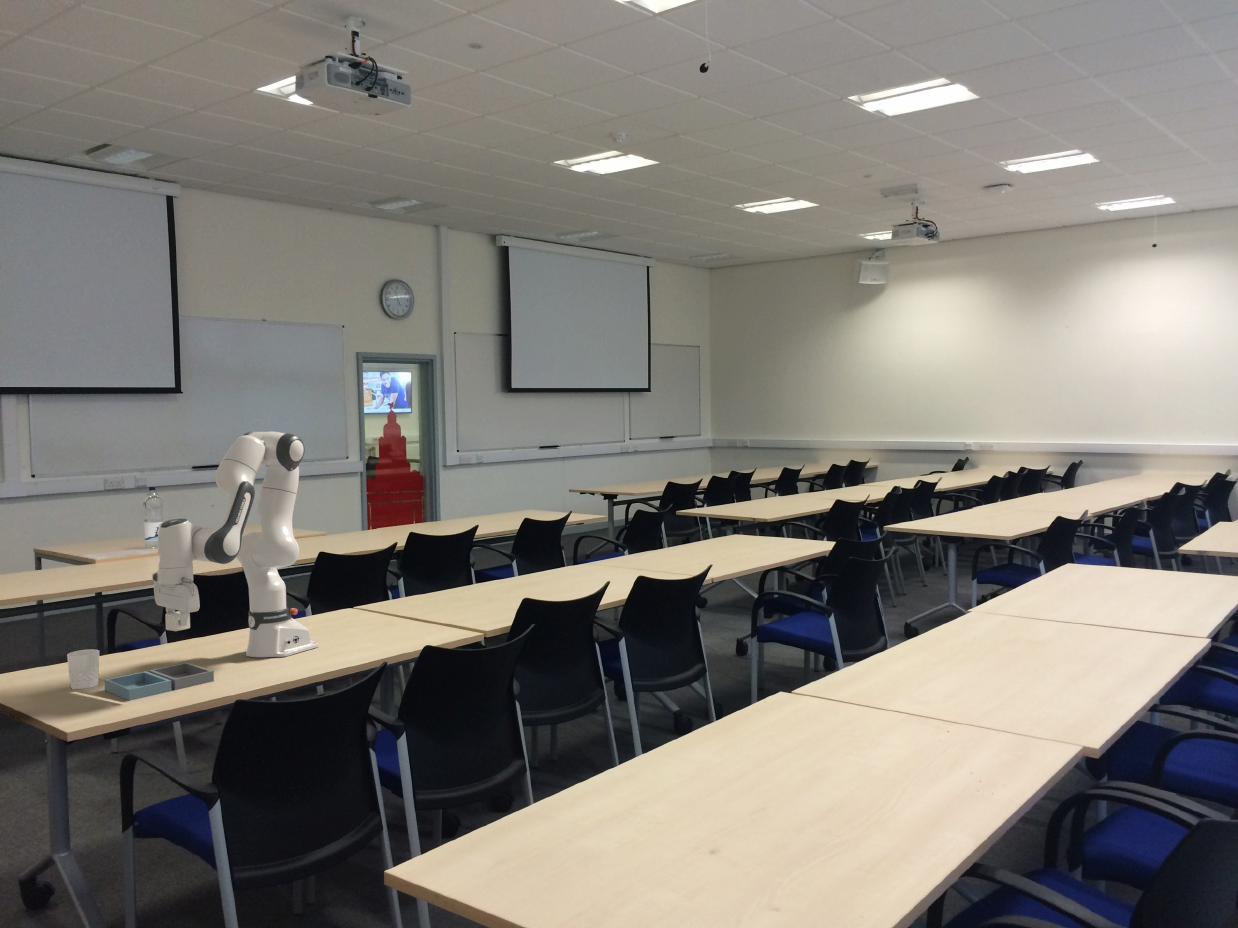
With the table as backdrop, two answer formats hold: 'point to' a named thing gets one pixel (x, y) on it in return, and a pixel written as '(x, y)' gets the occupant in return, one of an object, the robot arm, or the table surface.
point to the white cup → (83, 668)
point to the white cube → (175, 621)
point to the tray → (185, 675)
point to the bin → (137, 685)
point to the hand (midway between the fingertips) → (177, 624)
